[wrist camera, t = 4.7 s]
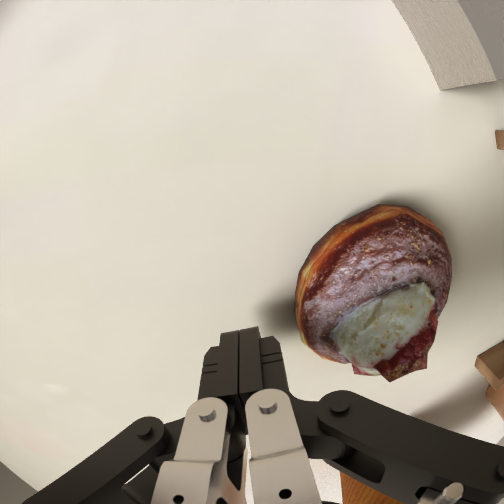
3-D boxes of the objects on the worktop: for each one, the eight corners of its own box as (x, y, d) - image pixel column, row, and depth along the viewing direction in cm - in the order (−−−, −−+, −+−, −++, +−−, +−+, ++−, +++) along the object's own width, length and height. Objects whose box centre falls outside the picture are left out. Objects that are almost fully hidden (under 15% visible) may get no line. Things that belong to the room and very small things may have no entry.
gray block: (389, 0, 8) (432, -35, 4) (451, -3, 8) (494, -24, 4) (438, 90, 10) (496, 80, 6) (491, 76, 9) (542, 70, 5)
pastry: (330, 372, 14) (355, 444, 10) (251, 267, 12) (257, 339, 7) (449, 291, 13) (505, 339, 8) (404, 167, 11) (484, 182, 6)
